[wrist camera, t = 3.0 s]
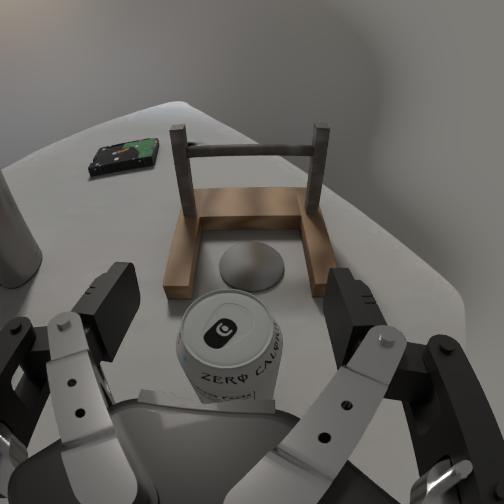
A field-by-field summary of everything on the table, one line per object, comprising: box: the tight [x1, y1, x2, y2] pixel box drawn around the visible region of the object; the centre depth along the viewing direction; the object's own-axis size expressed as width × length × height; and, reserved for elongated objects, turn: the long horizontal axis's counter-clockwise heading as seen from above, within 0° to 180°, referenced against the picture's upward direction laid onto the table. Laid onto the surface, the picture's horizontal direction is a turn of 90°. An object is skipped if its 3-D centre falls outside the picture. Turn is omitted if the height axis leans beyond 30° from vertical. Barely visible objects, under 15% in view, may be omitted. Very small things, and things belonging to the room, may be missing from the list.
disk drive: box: [88, 138, 159, 177], centre depth 59 cm, size 10×3×15 cm
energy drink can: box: [176, 289, 283, 404], centre depth 20 cm, size 6×6×15 cm
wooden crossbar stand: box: [163, 123, 337, 299], centre depth 36 cm, size 20×19×16 cm
